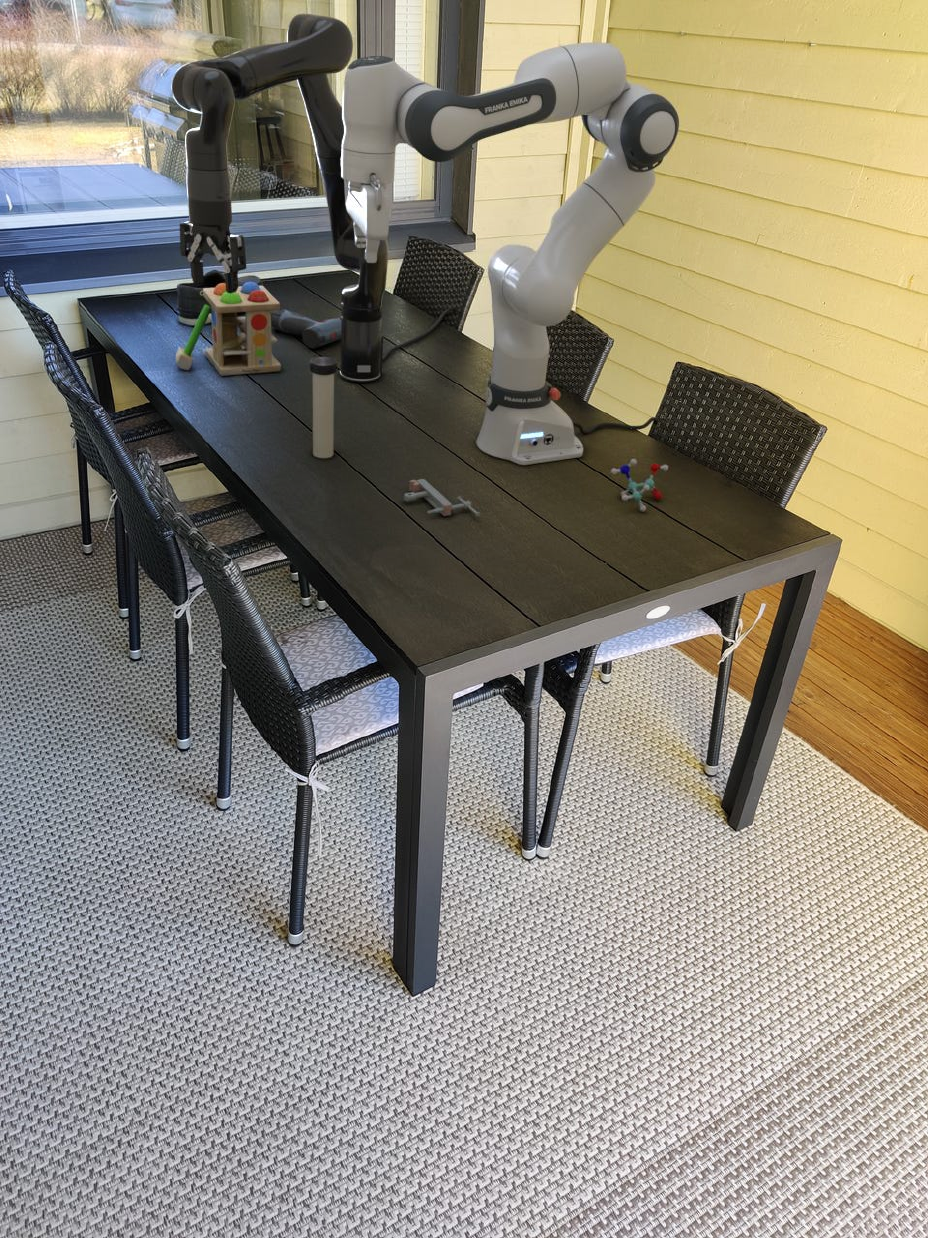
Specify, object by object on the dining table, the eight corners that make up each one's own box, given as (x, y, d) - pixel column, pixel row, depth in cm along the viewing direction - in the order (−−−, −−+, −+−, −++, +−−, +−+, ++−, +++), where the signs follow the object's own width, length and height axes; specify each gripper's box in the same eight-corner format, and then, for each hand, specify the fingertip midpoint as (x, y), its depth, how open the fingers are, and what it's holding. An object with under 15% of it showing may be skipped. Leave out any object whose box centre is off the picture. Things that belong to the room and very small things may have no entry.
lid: (340, 368, 187) (340, 359, 186) (330, 377, 183) (330, 367, 182) (316, 364, 188) (316, 354, 187) (305, 372, 184) (305, 362, 183)
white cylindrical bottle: (336, 451, 197) (337, 361, 186) (328, 459, 193) (329, 368, 183) (317, 447, 197) (317, 358, 187) (309, 455, 194) (308, 364, 184)
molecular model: (670, 504, 181) (654, 452, 180) (621, 519, 184) (605, 468, 183) (677, 496, 191) (662, 447, 190) (631, 511, 195) (616, 462, 194)
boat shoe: (283, 304, 273) (281, 265, 267) (196, 327, 249) (192, 285, 243) (249, 295, 278) (246, 257, 273) (160, 318, 255) (156, 277, 249)
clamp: (395, 482, 182) (442, 474, 187) (394, 493, 183) (441, 484, 188) (433, 519, 172) (482, 509, 176) (432, 530, 173) (481, 520, 178)
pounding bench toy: (183, 379, 220) (176, 299, 210) (169, 357, 231) (162, 280, 221) (282, 371, 230) (280, 294, 220) (264, 350, 240) (262, 276, 230)
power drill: (305, 316, 264) (364, 334, 256) (257, 332, 251) (318, 351, 243) (305, 296, 261) (365, 314, 253) (257, 311, 248) (318, 330, 240)
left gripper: (254, 199, 174) (257, 291, 183) (196, 184, 180) (201, 275, 189) (223, 204, 168) (228, 300, 177) (164, 189, 174) (172, 282, 183)
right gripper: (400, 181, 155) (395, 271, 163) (374, 157, 171) (372, 239, 179) (360, 180, 153) (358, 270, 161) (339, 155, 170) (337, 238, 177)
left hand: (214, 287), depth 183 cm, fingers open, 8 cm apart
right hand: (365, 254), depth 170 cm, fingers open, 8 cm apart
